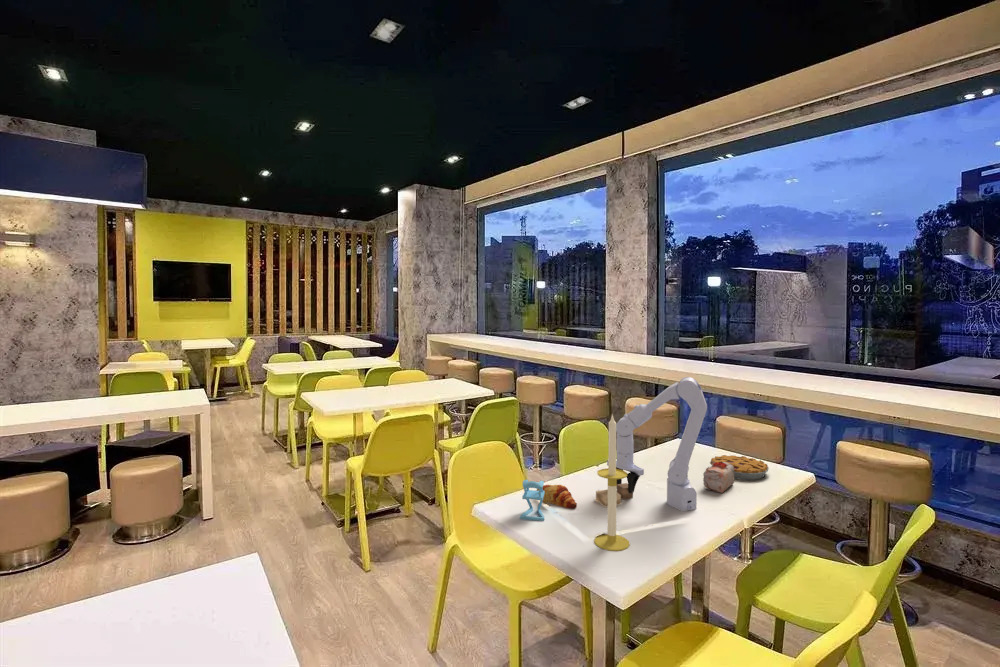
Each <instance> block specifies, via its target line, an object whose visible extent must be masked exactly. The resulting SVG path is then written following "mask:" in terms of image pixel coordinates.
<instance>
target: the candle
mask: <svg viewBox="0 0 1000 667" xmlns="http://www.w3.org/2000/svg"><path fill="white" fill-rule="evenodd" d="M616 424H617V422H616V421H615V419H614V415H613V413H612V414H611V418H610V420H609V421H608V466H607V467H608V468H602V469H599V470H597V471H596V472H597V473H596V474H597V476H599V477H601V478H603V479H607V490H608V507H607V533H604V534H599V535H597V536H596V537H594V540H593V541H594V544H595V546H597V547H598V548H600V549H602V550H606V551H610V552H618V551H620V552H621V551H625V550H627V549H628V548H629V547H630V541H629V540H628V539H627V538H626V537H623V536H622V535H618V534H617V505H616V498H617V479H622V480H623V479H627V474H628V472H627V471H626V470H619V469H616V461H617V431H616Z"/></svg>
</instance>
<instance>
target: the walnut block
mask: <svg viewBox="0 0 1000 667" xmlns="http://www.w3.org/2000/svg"><path fill="white" fill-rule="evenodd" d="M617 493H618V494H620V495H621V499H622V500H629V499H634V498H633V497H634V492H633V493H629V492H628V482H625V483H623V482H622V484H617Z"/></svg>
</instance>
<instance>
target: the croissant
mask: <svg viewBox="0 0 1000 667" xmlns="http://www.w3.org/2000/svg"><path fill="white" fill-rule="evenodd" d="M536 491H539V489H536ZM543 491H545V494H544V498H543V502H542V504H545V505H547V506H549V507H551V505H556V506H558V507H562V508H564V509H565V508H566V509H576V508H577V506H578V503H577V502H576V500H575V499H574V498H573V496H572V493H571V492H570V491H569V489H568V487H567V486H565V485H562V484H545V485H543ZM550 504H551V505H550Z"/></svg>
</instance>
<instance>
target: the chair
mask: <svg viewBox="0 0 1000 667" xmlns="http://www.w3.org/2000/svg"><path fill="white" fill-rule="evenodd" d="M544 484H545V481H544V480H540V481H539V482H538V481H533V480H532V481H529V480H528V479H524V480H523V481H522V488H523V492H524V493H523V495H522V500H526V502H527V505H528V507H529V508H528V509H527V510H526V511H524V512H523V513H521V515H519V516H520V517H519V519H520V520H525V521H527V520H529V521H539V522H544V521H545V516H544V514H543V512H542V510H541V508H542V504H543V503H542V502H543V498H544V494H545V491H543V485H544ZM533 489H536V490H533ZM537 489H539V491H537ZM531 500H534V501H539V503H538V506H537V508H536V509H537V513H538V515H539V516H532V515H531V516H530V515H529V514H531V513H532V512H533V511H534V507H533V505H532V503H531ZM528 515H529V516H528Z"/></svg>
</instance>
